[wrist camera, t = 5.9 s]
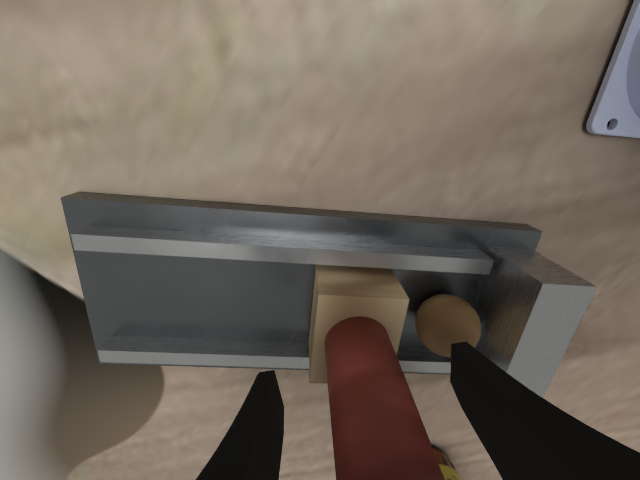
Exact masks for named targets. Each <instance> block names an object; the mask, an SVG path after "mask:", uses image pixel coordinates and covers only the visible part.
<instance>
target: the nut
mask: <svg viewBox="0 0 640 480" xmlns="http://www.w3.org/2000/svg"><path fill="white" fill-rule="evenodd" d="M415 326H416V331H417V334H418V336H419V338H420V340H421V341H422V343H423V344H424V345H425V346H426V347H427V348H428V349H429V350H431V351H432V352H434V353H436V354H438V355H441V356H444V357H451V344H453V343H460V342H468V343H469V344H470V345H472V346H473V347H475V346H476V345H477V343H478V341H479V339H480V336H481V322H480V319H479V316H478V314H477V312H476V311H475V309H474V308H473V307H472V306H471V305H470V304H469V303H468V302H467V301H465V300H464V299H462V298H460V297H457V296H454V295H450V294H440V295H435V296H432V297H430V298H429V299H427V300H426V301H424V302H423V303H422V305H421V306H420V307H419V309H418V311H417V314H416V319H415Z"/></svg>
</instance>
